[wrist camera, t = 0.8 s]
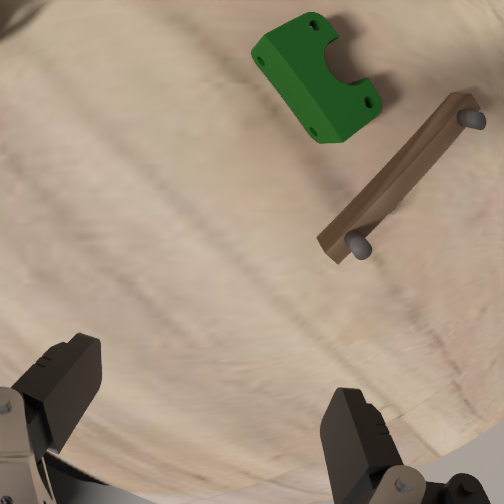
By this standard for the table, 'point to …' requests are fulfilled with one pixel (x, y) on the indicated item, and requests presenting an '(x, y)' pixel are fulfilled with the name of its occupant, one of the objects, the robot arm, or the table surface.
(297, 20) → the clamp
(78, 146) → the table surface
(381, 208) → the bar
